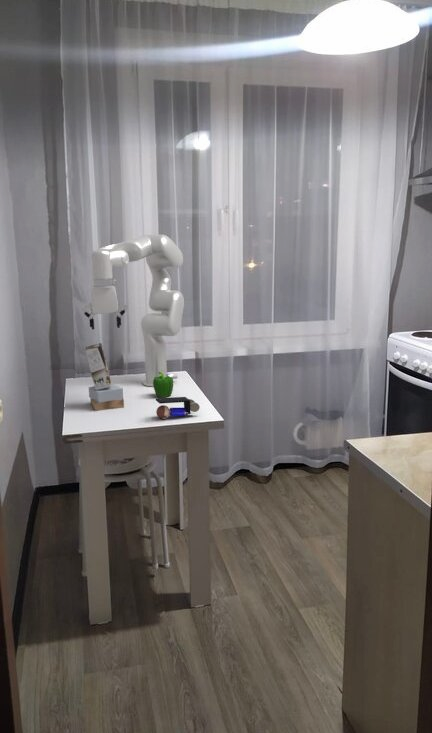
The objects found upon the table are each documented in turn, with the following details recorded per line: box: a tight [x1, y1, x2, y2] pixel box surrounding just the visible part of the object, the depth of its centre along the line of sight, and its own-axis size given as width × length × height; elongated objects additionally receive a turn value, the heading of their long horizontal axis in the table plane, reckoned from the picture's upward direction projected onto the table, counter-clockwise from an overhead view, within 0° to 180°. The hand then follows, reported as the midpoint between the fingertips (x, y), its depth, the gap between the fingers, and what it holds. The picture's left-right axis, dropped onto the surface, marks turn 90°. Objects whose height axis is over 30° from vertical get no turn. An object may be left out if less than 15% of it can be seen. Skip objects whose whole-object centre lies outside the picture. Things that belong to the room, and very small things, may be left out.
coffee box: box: [84, 343, 112, 390], centre depth 223 cm, size 9×6×16 cm
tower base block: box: [89, 397, 125, 412], centre depth 226 cm, size 11×11×4 cm
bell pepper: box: [153, 372, 174, 398], centre depth 239 cm, size 8×8×10 cm
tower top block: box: [88, 383, 124, 403], centre depth 225 cm, size 10×10×4 cm
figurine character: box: [155, 396, 201, 420], centre depth 210 cm, size 7×8×15 cm
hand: (105, 328), depth 223 cm, fingers open, 9 cm apart
